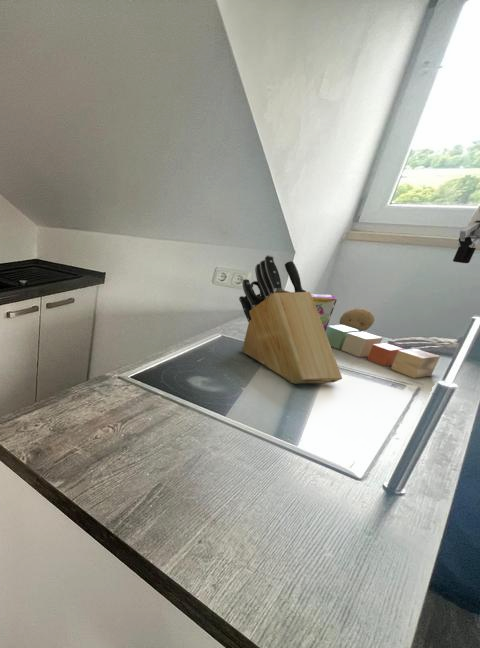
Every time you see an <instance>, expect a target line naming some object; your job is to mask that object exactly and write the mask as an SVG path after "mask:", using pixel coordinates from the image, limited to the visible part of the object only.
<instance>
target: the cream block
mask: <svg viewBox="0 0 480 648" xmlns="http://www.w3.org/2000/svg"><path fill="white" fill-rule="evenodd" d="M382 340H383V337H382V336H378V335H375V334H373V333H369V332H367V331H364V332H363V331H362V332H352V333H347V335H346V338H345V341H344V344H343V346H342V348H341V349H340V350H341V351H344V352H345V353H347V354H351V355H353V356H356V357H359V358H364V357H368V356H369V353H370V351H371V348H372V346H373V344H382Z"/></svg>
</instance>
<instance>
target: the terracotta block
mask: <svg viewBox="0 0 480 648" xmlns="http://www.w3.org/2000/svg"><path fill="white" fill-rule="evenodd" d="M398 350H405V348H403V347H400V346H397V345H393V344H391V343H388V342H385V343H384V342H383V343H380V344H373V346H372V348H371V351H370V353H369V356H367V359H366V360H367V361H371V362H373V363H376V364H378V365H381V366H383V367H384V366H385V367H386V366H387V367H388V366H392V364H393V362H394V360H395V357H396V355H397V353H398Z"/></svg>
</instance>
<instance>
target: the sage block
mask: <svg viewBox="0 0 480 648" xmlns="http://www.w3.org/2000/svg"><path fill="white" fill-rule="evenodd" d="M359 331H360V330H357V329H354V328H351V327H348V326H345V325H340V324H335V325H328V326H327V328H326V331H325V332H326V335H327V338H328V341H329V343H330V346H331V348H335V349H338V350H339V349H340V350H341V349H342V346H343V344H344V341H345V338H346V335H347V333H352V332H359Z"/></svg>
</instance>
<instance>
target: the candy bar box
mask: <svg viewBox="0 0 480 648" xmlns="http://www.w3.org/2000/svg"><path fill="white" fill-rule="evenodd" d="M311 296H312V298H313V301H314V303H315V306H316V309H317V311H318V314H319V317H320V319H321V322H322V324H323V327H324V330H325V331H326V328H327V326H329V322H330V320H331V317H332V314H333V311H334V310H335V306H336V304H337V300H338V299H337V298H336V297H335V296H333V295H332V294H321V293H320V294H319V293H317V294H316V293H311Z"/></svg>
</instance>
